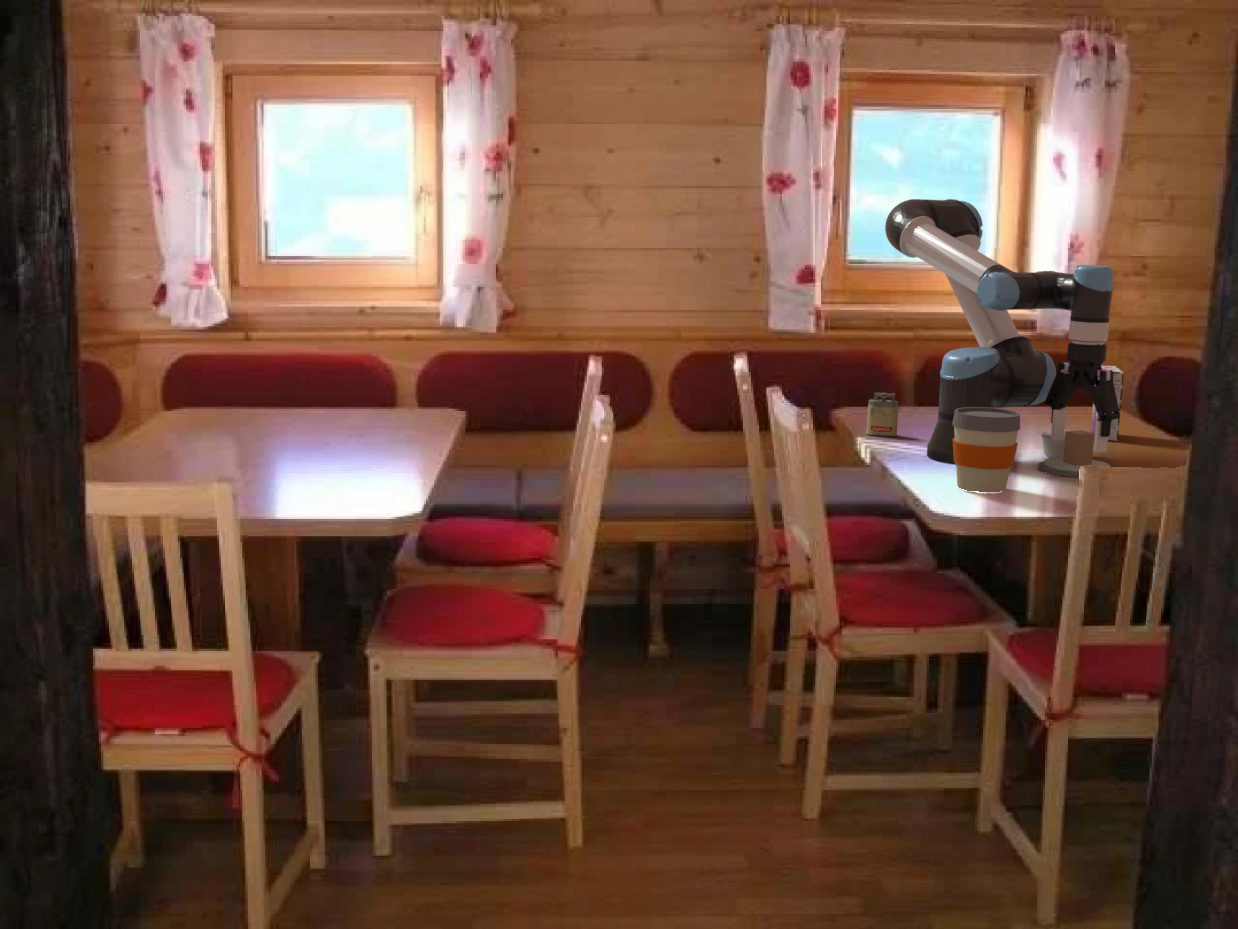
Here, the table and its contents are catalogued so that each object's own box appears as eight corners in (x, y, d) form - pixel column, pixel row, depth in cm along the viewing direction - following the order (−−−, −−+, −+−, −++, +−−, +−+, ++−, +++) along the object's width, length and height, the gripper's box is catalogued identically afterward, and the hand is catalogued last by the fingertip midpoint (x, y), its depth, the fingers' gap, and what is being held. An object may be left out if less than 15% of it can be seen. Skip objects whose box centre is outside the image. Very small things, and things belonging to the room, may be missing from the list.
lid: (1072, 475, 270) (1075, 439, 268) (1030, 462, 282) (1033, 428, 280) (1124, 471, 274) (1127, 436, 273) (1081, 459, 286) (1084, 425, 285)
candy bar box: (1089, 432, 324) (1095, 364, 321) (1111, 433, 323) (1117, 365, 320) (1095, 440, 314) (1102, 370, 310) (1118, 441, 313) (1125, 371, 309)
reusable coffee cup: (1025, 496, 253) (1031, 417, 250) (960, 496, 252) (965, 417, 249) (1001, 482, 266) (1007, 407, 263) (939, 481, 265) (944, 406, 262)
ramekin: (1029, 454, 296) (1031, 430, 295) (1069, 451, 300) (1071, 428, 299) (1063, 464, 286) (1065, 439, 285) (1105, 461, 290) (1107, 437, 289)
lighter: (865, 435, 314) (868, 392, 312) (866, 432, 317) (869, 390, 315) (896, 437, 312) (899, 394, 310) (897, 434, 316) (900, 392, 314)
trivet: (1070, 480, 269) (1070, 476, 268) (1022, 465, 282) (1023, 462, 282) (1130, 476, 274) (1130, 472, 274) (1080, 462, 288) (1080, 458, 287)
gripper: (1146, 348, 263) (1135, 456, 267) (1062, 335, 285) (1053, 434, 290) (1115, 349, 260) (1104, 458, 264) (1033, 335, 283) (1024, 436, 287)
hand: (1078, 446), depth 277 cm, fingers open, 12 cm apart
